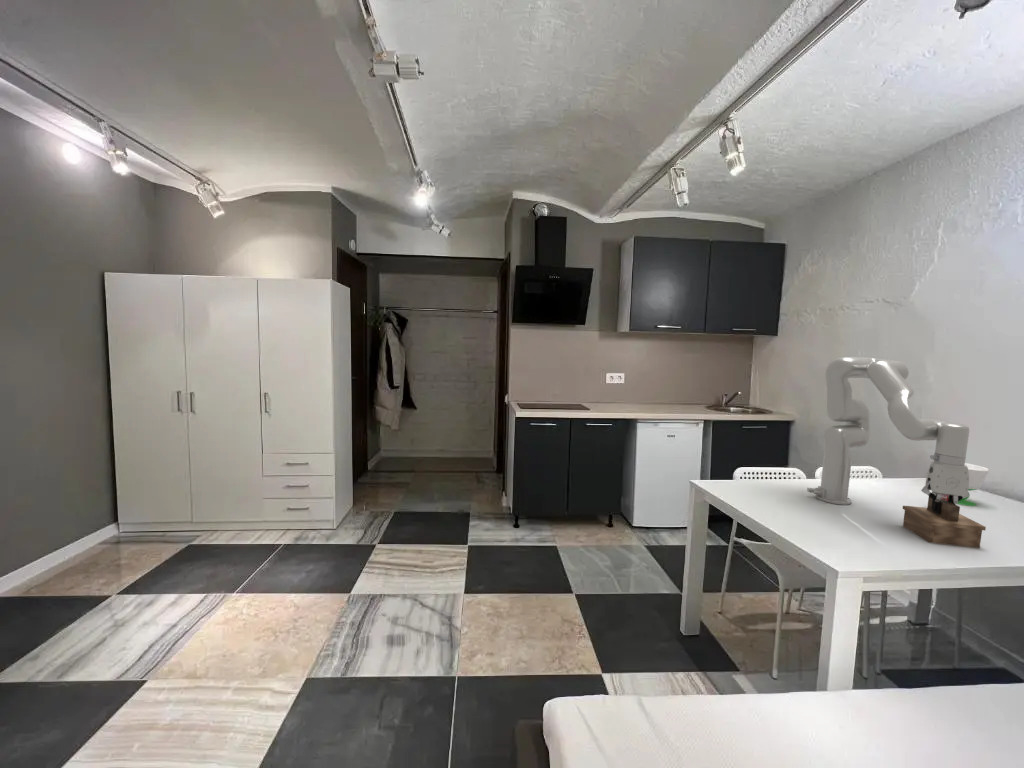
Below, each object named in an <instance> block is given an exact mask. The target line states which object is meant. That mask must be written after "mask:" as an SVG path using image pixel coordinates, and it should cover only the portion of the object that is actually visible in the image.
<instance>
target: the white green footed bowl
mask: <svg viewBox="0 0 1024 768" xmlns="http://www.w3.org/2000/svg"><path fill="white" fill-rule="evenodd" d="M965 466H967V467H968V472H969V490H968V493H969V497H966V498H962V499H961V500H960V501H958V503H957V504H956V505H961V506H967V507H969V506H970V507H974V506H976V505H977V504H976V503H975V502H973V501H971V500H968V499H969V498H970V496H971V495H970V494H971V493H970V492H969V491H971V492H972V491H977V490H979V489H980V488H981V487H982V486H983V485H984V482H985V479H986V477H987V475H988V472H989V471H990V470H989V468H987V467H984V466H982V465H977V464H972V463H967V462H965Z"/></svg>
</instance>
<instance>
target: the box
mask: <svg viewBox="0 0 1024 768" xmlns="http://www.w3.org/2000/svg"><path fill="white" fill-rule="evenodd" d="M902 522H903V523H902V526H903V527H904V528H906V529H908V531H910V532H912V533H913V534H915V535H917V536H918V537H920V538H922V539H923V540H925V541H926V542H928V543H933V544H940V545H951V546H959V547H960V546H961V547H969V548H978V549H979V548H981V542H982V541H981V540H982V534H983V530H975V529H966V528H956V527H946V526H936V525H930V524H928V523H926V522H925V521H923V520H921V519H919V518H918V517H916V516H914V515H913V514H911V513H909V512H907V511H906V510H904V514H903V521H902Z"/></svg>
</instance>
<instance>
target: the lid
mask: <svg viewBox="0 0 1024 768" xmlns="http://www.w3.org/2000/svg"><path fill="white" fill-rule="evenodd" d="M940 502H941V512H940V514H937V513H935V512H933V511H932V508H931V507H932V499H931V498H930V497H929V496H928V500H927V507H922V506H913V505H902V509H903V510H904V511H905V510H906V511H907V512H909V513H911V514H913V515H914V516H916V517H918V518H919V519H921V520H923V521H925V522H926V523H928V524H930V525H936V526H946V527H956V528H966V529H975V530H982V531H986V527H987V526H986V525H983V524H981V523H979V522H977V521H975V520H972V518H969V517H966V516H965V515H963V514H961V513H960V509H961V507H960V506H959V505H958V504H953V503H951V502H949V501H947V500H944V499H942V498H941V499H940Z"/></svg>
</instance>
